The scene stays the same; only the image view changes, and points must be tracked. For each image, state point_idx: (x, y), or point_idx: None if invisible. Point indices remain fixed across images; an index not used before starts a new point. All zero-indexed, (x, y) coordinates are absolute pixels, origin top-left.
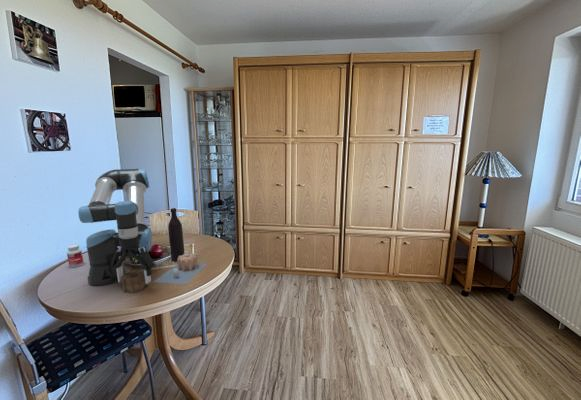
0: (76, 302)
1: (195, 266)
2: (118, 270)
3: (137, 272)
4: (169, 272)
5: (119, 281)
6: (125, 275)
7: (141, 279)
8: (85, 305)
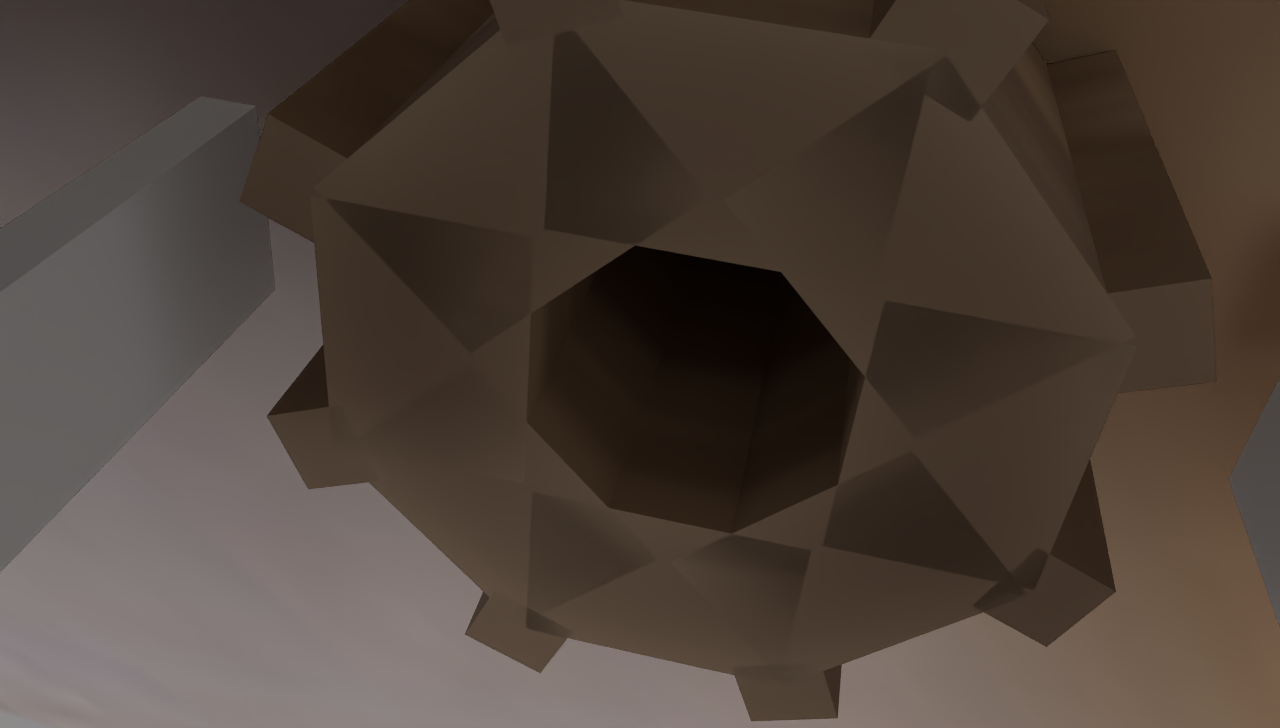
0: (4, 602)
1: None
2: (8, 541)
3: (688, 168)
4: None
5: (259, 300)
6: (360, 394)
7: (1094, 532)
8: (236, 693)
